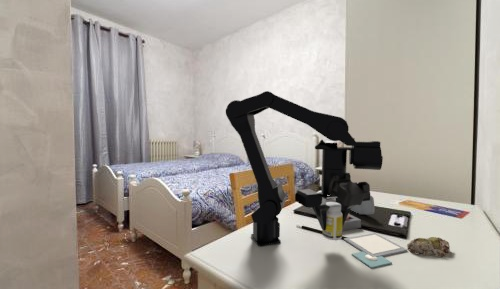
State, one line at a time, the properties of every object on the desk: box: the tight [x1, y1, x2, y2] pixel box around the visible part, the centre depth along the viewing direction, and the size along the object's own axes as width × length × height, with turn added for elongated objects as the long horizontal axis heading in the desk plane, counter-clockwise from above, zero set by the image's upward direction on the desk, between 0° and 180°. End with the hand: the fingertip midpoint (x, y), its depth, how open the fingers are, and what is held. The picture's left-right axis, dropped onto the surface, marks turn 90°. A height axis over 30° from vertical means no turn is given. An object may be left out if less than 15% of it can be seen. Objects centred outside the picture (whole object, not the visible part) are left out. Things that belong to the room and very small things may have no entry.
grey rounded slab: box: [351, 194, 375, 215], centre depth 89 cm, size 14×3×8 cm, turn 20°
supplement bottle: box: [321, 201, 343, 241], centre depth 61 cm, size 5×5×8 cm
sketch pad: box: [343, 232, 408, 257], centre depth 64 cm, size 11×10×1 cm
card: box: [351, 251, 393, 269], centre depth 57 cm, size 6×6×1 cm
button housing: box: [342, 213, 362, 232], centre depth 77 cm, size 8×8×2 cm
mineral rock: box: [407, 236, 451, 258], centre depth 62 cm, size 11×4×8 cm
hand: (332, 228), depth 62 cm, fingers closed on supplement bottle, 5 cm apart
